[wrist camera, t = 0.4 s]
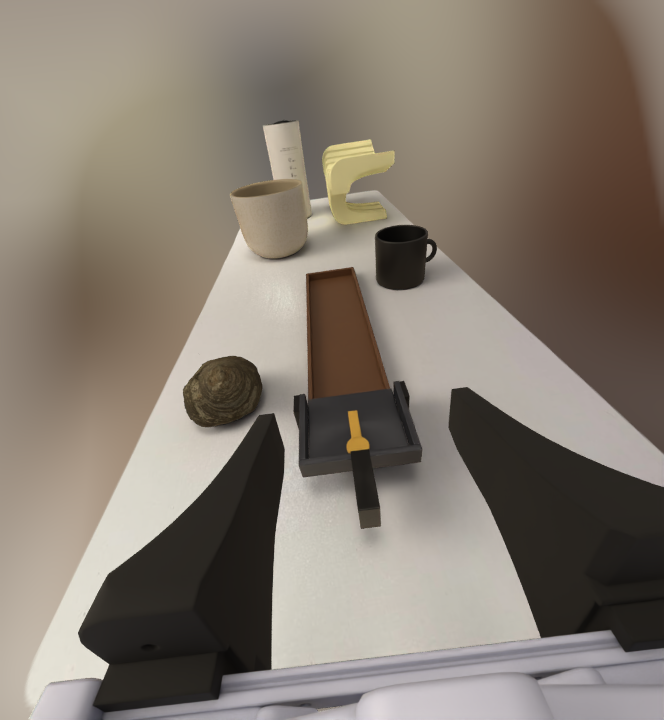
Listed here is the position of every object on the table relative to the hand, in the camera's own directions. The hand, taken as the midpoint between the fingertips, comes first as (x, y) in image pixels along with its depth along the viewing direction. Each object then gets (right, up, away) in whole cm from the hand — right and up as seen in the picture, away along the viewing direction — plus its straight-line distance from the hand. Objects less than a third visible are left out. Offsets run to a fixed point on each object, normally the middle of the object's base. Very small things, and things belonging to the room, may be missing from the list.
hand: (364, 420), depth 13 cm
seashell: (-15, -3, +30) cm, 34 cm away
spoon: (+1, -5, +19) cm, 19 cm away
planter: (-15, +31, +70) cm, 78 cm away
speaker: (-13, +51, +93) cm, 107 cm away
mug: (+14, +19, +50) cm, 55 cm away
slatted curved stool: (+7, +47, +86) cm, 98 cm away
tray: (0, +7, +39) cm, 40 cm away
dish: (+1, -7, +18) cm, 19 cm away
